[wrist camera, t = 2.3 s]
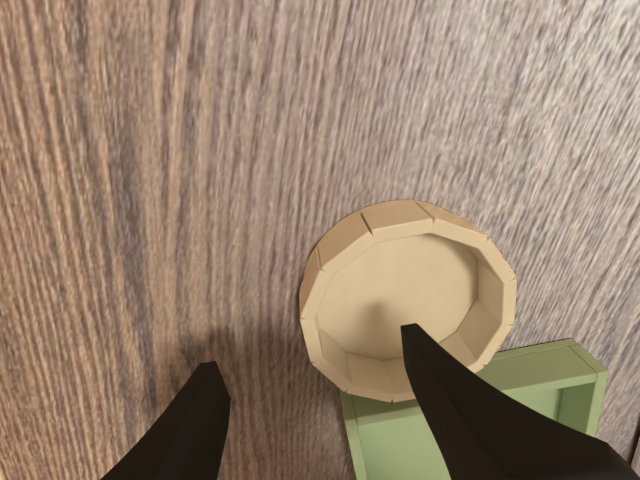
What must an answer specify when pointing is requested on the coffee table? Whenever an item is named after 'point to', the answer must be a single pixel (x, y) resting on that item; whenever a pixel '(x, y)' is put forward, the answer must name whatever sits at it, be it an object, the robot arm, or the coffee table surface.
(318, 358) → the beige round bowl
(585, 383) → the tray
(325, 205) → the coffee table surface
